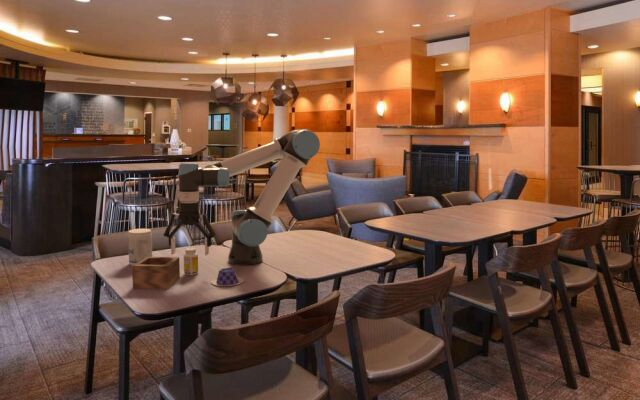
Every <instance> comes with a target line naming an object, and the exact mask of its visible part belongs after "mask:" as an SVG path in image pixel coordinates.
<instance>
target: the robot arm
mask: <svg viewBox="0 0 640 400" xmlns="http://www.w3.org/2000/svg"><path fill="white" fill-rule="evenodd" d="M320 147H321V142H320V139H319V137H318V135H317V134H316V133H315V132H314V131H312V130H309V129H306V128H302V129H293V130H291V131H289V132H287V133H285V134H283V135H280V136H279V137H277V138H274V139H273V141H272V142H270V143H266V144H264V145H261V146H258V147H256V148H253V149H249V150H248V151H245V152H243V153H240V154H237V155H235V156H232V157H229V158H226V159H224V160H221V161H218V162H216V163H213V164H208V165H206V166H205V167H200V166H199V163H197V162H181V163H180V164H179V165H178V192H179V193H178V200H179V213H176V212H174V213H171V217H170V220H169V223H168V224H167V227H166V229H165V231H164V233H163V237H167V238H168V246H170V249H171V250H170V252H171V253H170V254H171V255H174V254H176V236H175V235H176V233H178V231H179V230H180V229H181V228H182V226H183V225H185V226H195V227H197V229H198V230H199V231H200V233H202V235H203V236H204V237H205V238H204V256H208V255H209V254H210V252H209V250H210V247H211V246H212V239H213V238H215V237H216V232H215V231H214V229H213V227H212V225H211V223H210V221H209V219H208V218H209V216H208V214H207V213H204V214H200V202H199V201H200V200H199V199H200V193H199V190H200V188H201V187H208V188H209V187H213V188H214V187H216V188H217V187H220V188H221V187H228V186H229V185H230V181H231V180H230V178H231V177H233V176H235V175H239V174H241V173H243V172H246V171H249V170H252V169H255V168H256V167H261V166H262V165H265V164H268V163H271V162H272V161H273V162H274V161H275V160H278V159H281V160H280V162H279V163H278V165H277V167H276V168H275V170H274V171H273V173H272V175H271V177H270V178H269V180H268V181H267V182H266V185H265V186H264V188H263V189H262V192H261V193H260V195H259V196H258V198H257V199H256V201H255V203H254V205H253V206H250V207H247V209H238V210H233V211H232V212H231V216H230V218H231V247H230V250H229V253H228V257H227V263H230V264H232V265H236V266H237V265H239V266H248V265H256V264H260V263H261V262H263V253H262V250H261V248H260V245H262V244H263V243H264V242H265V240H266V239H267V237H268V231H269V228H270V226H271V224H272V223H273V220H272V216H273V214H274V213H275V211H276V209H277V208H278V206H279V204H280V203H281V201H282V200H283V198H284V196H285V194H286V192H287V191H288V189H290V187H291V184H292V183H293V181H294V179H295V178H296V177H297V175H298V173H299V171H300V170H301V169H302V168H305V167H307V165H308V164H309V162H310V160H311V159H312V158H314V157H315V156H316V155H318V153H319V150H320ZM177 219H179V220H180V221H179V223H178V224H177V225H176V226H175V228H173V226H174V224H175V222H176V220H177ZM199 219H201V220H202V222H203V224H204V225H205V227H206V228H205V227H204V225H202V223H201V221H200V220H199ZM172 229H173V230H172ZM171 230H172V231H171Z"/></svg>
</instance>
